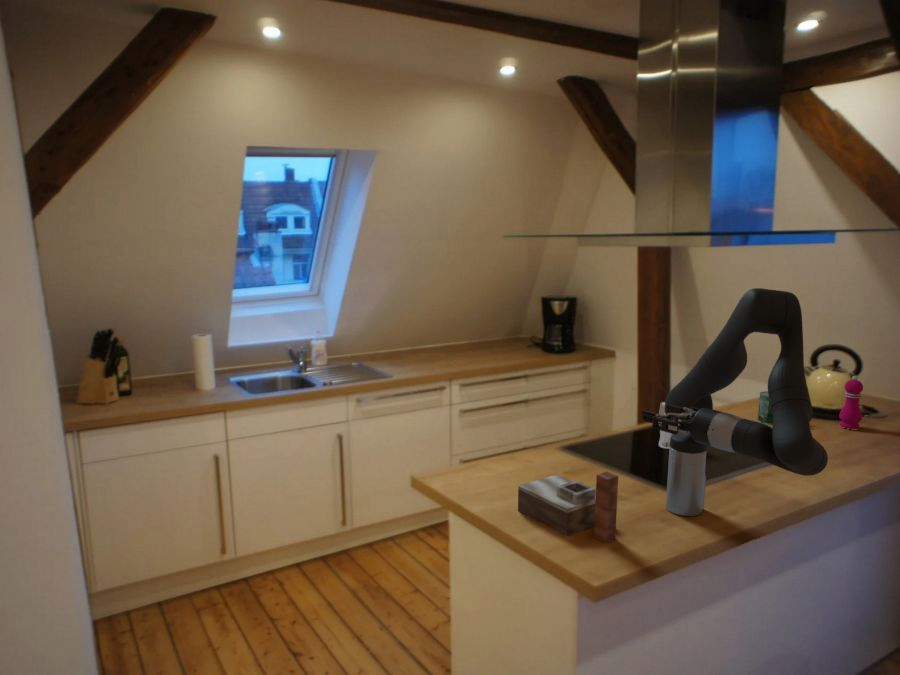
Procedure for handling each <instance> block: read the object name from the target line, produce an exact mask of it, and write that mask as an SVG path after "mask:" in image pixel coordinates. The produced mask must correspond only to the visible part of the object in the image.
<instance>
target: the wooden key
mask: <svg viewBox="0 0 900 675" xmlns="http://www.w3.org/2000/svg"><path fill="white" fill-rule="evenodd" d="M595 489H596V490H595V491H596V502H595V525H594V526H593V527H594V529H593V538H595V539H597V540H599V541H602V542H603V543H609V542H610V541H612V540H616V533H617V531H616V530H617V513H618V511H617V510H618V494H619V490H618V489H619V475H616V474H614V473H612V472H609V471H604V472H601V473H598V474H596V484H595Z"/></svg>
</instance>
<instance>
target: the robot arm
mask: <svg viewBox="0 0 900 675" xmlns="http://www.w3.org/2000/svg"><path fill="white" fill-rule="evenodd" d="M802 313H803V312H802V308H801V304H800V300H799V297H797V296H796V294H794V293H793V292H789V291H785V290H777V289H770V288H761V287H756V288H750V289H749V290H747V291H746V292H745V293H744V294H743V295H742V297H741V298H740V299H739V300H738V303H737V305H735V308H733V311H732V313H731V315H730V317H729V318H728V320H727V322H726V323H725V325H724V327H723V328H722V329H721V331H719V333H718V335H717V336H716V337H715V339H713V341H712V343H711V344H710V345H709V346H708V347H707V348H706V350H705V351H704V353H702V355H701V356H700V358H699V359H698V360H697V362H696V363H695V365H694V366H693V367H692V369H690V370H689V371H688V373H687V374H686V375H685V376H684V377H683V378H682V379H681V380H680V381H679V382H678V383H677V384H676V385H675V386H674V387H673V388H672V389H671V390H670V391H669V392H668V394H667V396H666V398H665V400H664V402H665V414H666V415H662V414H659V413H656V412H653V411H649V410H642V412H641V421H643V422H647V423H650V424H651V428H652V429H653V430H657V431H660V430H661V431H664V432H668V433H672V434H673V435H672V436H671V438H670V448H669V449H668V450H669V452H668V465H667V466H668V469H667V480H666V481H667V483H666V499H665V500H666V502H665V508H666V510H668V511H669V512H671V513H672V514H675V515H678V516H684V517H696V516H699V515H701V514H702V512H703V510H704V508H705V497H706V495H705V494H706V484H707V483H706V482H707V475H706V460H707V448H708V446H709V447H711V448H713V449H718V450H722V451H725V452H728V453H729V452H730V453H736V454H739V455H742V456H746V457H749V458H753V459H758V460H761V461H764V462H766V463H767V464H771V465H773V466H775V467H778V468H780V469H783V470H785V471H788V472H791V473H793V474H796V475H800V476H805V477H808V476H815V475H817V474H820V473H822V472H823V471H824V470H825V469H826V467H827V466H828V462H829V457H828V452H827V450H826V449H825V447H824V446H823V445H822V444H821V443H820V442H819V441H817V439H815V438H814V436H813V434H812V431H811V430H812V429H811V425H810V422H811V421H812V419H813V414H814V412H813V405H812V401H811V397H810V392H809V388H808V384H807V378H806V372H805V361H804V360H805V359H804V333H803V332H804V328H803V316H802V315H803V314H802ZM753 333H761V334H769V335H777V337H778V338H779V339H778V340H779V342H780V353H779V355H778V358H777V359H776V361H775V363H774V365H773V367H772V369H771V371H770V372H769V375H768V379H767V391H768V395H769V400H770V405H771V410H772V414H773V423H772V424H771V426H772V427H771V426H769V424H765V423H761V422H759V421H755V420H750V419H746V418H744V417H740V416H738V415H736V414H732V413H728V412H724V411H720V410H717V409H714V403H713V398H712V394H714V393H717V392H719V391H722V390H723V389H725V388H727V387H728V386H730V385H731V384H732V383H733V382H735V381H736V380H737V378H738V377H739V376H740V375H741V374H742V373H743V372H744V371H745V369H746V367H747V363H748V351H747V348H746V345H745V339H747V337H748V336H749V335H750V334H753ZM665 418H666V419H665Z"/></svg>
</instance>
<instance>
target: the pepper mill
mask: <svg viewBox="0 0 900 675" xmlns="http://www.w3.org/2000/svg"><path fill="white" fill-rule="evenodd" d="M844 390H845V392H844V393H845V403H844V405H843V407H842V409H840V412H839V420H841V421H840V423H839V427H840V426H841V427H844V428H850V429H858V428H859V429H860V424H859V423H860V422H861V421H862V419H863V418H862V417H863V416H862V412H861V408H860V405H859V402H860V398H861V395H862V394H861V393H862V392H863V390H864V385H863V383H862V382H861V381H860V380H858V377H857V376H856V375H853V376H852V378H851V379H850V380H849V379H848V380H847V381H846V382H845V383H844ZM841 427H840V428H841Z"/></svg>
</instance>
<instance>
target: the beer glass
mask: <svg viewBox="0 0 900 675" xmlns="http://www.w3.org/2000/svg"><path fill="white" fill-rule="evenodd" d="M658 414H662V415H666V414H665V401H661V402H660V406H659V412H658ZM665 419H666V418H665ZM659 435H660V436H659V441H658V447H660V448H662V449H665V450H669V448H670V438H671V436H672V435H673V434H672V433H668V432H664V431H661V430H659Z"/></svg>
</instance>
